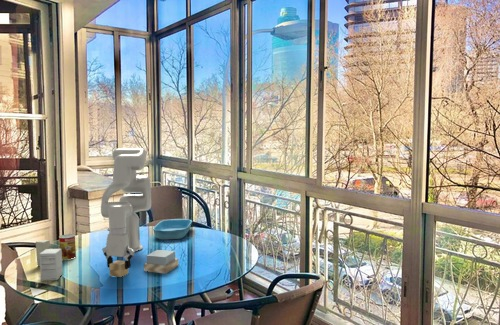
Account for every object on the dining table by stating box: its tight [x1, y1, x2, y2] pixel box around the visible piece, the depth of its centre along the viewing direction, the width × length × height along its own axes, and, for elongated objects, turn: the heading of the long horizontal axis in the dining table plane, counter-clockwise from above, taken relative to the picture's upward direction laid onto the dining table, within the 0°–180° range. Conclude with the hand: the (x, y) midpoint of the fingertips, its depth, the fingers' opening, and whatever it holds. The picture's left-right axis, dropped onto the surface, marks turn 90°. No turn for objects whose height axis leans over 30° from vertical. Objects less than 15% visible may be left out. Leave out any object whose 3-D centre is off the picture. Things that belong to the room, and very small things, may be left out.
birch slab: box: [143, 257, 179, 274], centre depth 196 cm, size 12×12×4 cm
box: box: [35, 239, 51, 267], centre depth 201 cm, size 5×4×13 cm
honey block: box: [108, 259, 130, 278], centre depth 187 cm, size 6×6×6 cm
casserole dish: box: [152, 218, 193, 240], centre depth 263 cm, size 37×22×7 cm, turn 0°
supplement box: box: [39, 248, 64, 282], centre depth 184 cm, size 7×7×13 cm
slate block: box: [146, 249, 176, 265], centre depth 195 cm, size 10×10×4 cm
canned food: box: [58, 233, 77, 260], centre depth 213 cm, size 8×8×12 cm
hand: (118, 267), depth 186 cm, fingers open, 9 cm apart
